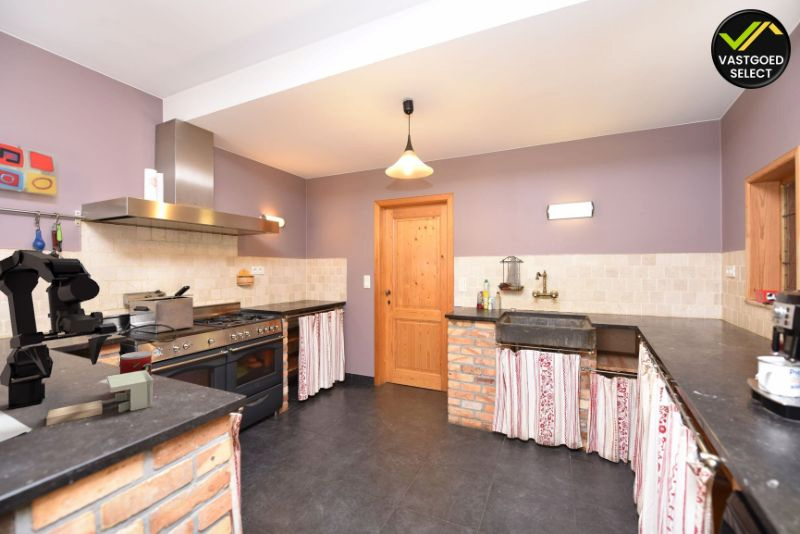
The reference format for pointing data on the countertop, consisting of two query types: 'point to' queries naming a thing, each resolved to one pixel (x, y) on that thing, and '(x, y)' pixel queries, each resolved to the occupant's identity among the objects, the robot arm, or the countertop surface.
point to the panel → (74, 412)
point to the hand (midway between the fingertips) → (71, 369)
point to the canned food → (136, 363)
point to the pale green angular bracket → (132, 389)
